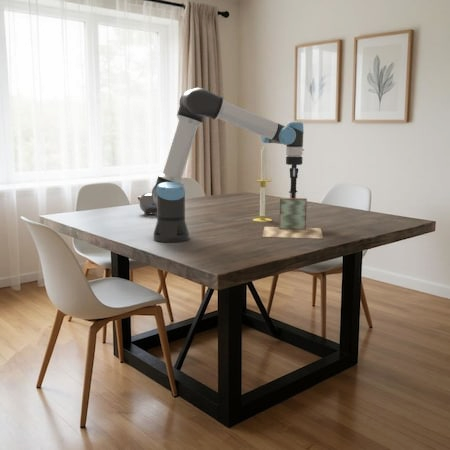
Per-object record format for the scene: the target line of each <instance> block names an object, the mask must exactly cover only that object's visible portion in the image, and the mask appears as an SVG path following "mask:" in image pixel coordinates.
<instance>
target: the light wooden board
mask: <svg viewBox="0 0 450 450" xmlns="http://www.w3.org/2000/svg"><path fill="white" fill-rule="evenodd" d="M261 236H262V237H261V238H272V239H273V238H274V239H276V238H290V239H297V240H299V239H300V240H301V239H302V240H305V239H306V240H309V239H324V235H323V231H322V229H321V227H306V230H297V229H279V226H264V227H263V231H262V235H261Z"/></svg>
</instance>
